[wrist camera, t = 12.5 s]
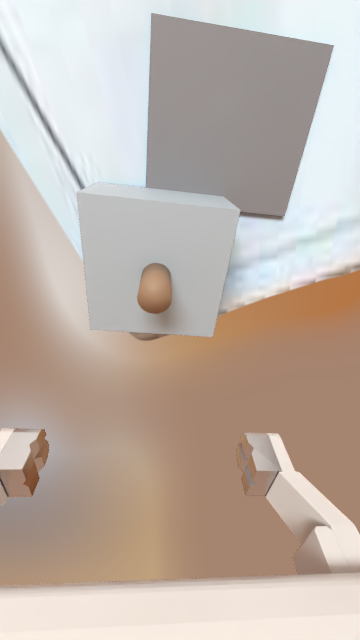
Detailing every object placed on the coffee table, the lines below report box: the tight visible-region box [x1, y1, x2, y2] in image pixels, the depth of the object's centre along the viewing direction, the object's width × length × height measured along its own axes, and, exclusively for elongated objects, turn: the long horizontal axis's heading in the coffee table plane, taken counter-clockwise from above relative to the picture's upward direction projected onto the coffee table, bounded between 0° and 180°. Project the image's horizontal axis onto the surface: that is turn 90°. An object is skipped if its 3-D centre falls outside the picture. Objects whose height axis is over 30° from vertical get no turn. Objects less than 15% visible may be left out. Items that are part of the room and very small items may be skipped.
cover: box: [77, 182, 240, 337], centre depth 30 cm, size 15×15×14 cm
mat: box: [146, 13, 334, 216], centre depth 29 cm, size 18×16×1 cm
